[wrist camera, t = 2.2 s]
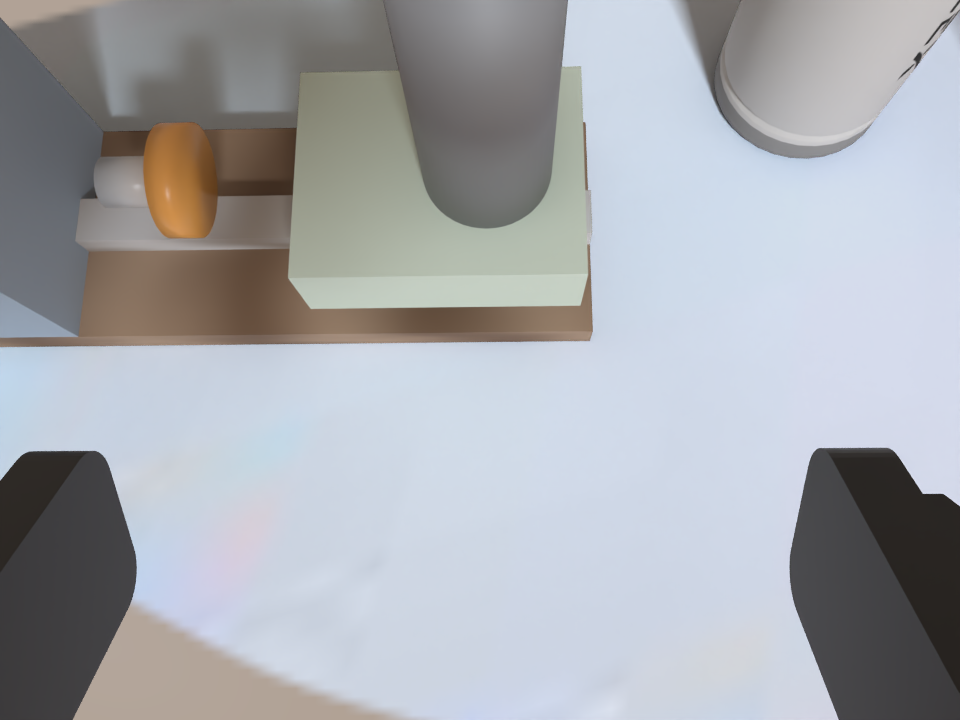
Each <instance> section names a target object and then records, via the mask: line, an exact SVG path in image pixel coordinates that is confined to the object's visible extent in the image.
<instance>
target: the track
mask: <svg viewBox="0 0 960 720" xmlns="http://www.w3.org/2000/svg"><path fill="white" fill-rule="evenodd" d="M203 131H204V133H205V134H206V136H207V138H208V141H209V143H210V146H211V149H212V153H213V157H214V161H215V167H216V174H217V185H218V201H217V212H216V217H215V222H214V225H213V227H212V230H211V232H210V233H209V234H208V235H207V236H206V237H205V238H174V239H171V238H167V237H165V236H164V235H163V234H162V233H161V232H160V231H159V229H158V228H157V226H156V224H155V223H154V221H153V218H152V216H151V213H150V210H149V207H137V208H106V207H104V206H103V205H102V204H101V203H100V201H99V199H98V197H97V195H96V197H95V199H80V207H79V215H78V223H77V230H76V238H75V241H76V242H77V243H78V244H80V245H81V246H82V247H84V248H85V249H86V250H87V251H89V254H88V262H87V270H86V279H85V287H84V295H83V303H82V311H81V319H80V328H79V336H78V337H14V338H0V347H45V346H140V345H235V344H330V343H425V342H521V341H590V338H591V335H592V332H593V326H592V297H591V268H590V241H591V236H592V214H591V190H588V182H587V154H586V125H585V122H583V137H584V167H585V196H586V225H587V255H588V277H587V281H586V285H585V289H584V293H583V297H582V302H581V306H511V307H427V308H344V309H310V307H309V306H308V305H307V303H306V302H305V301H304V299H303V298H302V296H301V295H300V294H299V292H298V291H297V290H296V288H295V287H294V286H293V284H292V283H291V281H290V280H289V279H288V269H289V252H290V235H291V218H292V202H293V185H294V168H295V151H296V135H297V128H273V129H222V130H203ZM149 133H150V131H120V132H103V140H102V148H101V156H100V157H122V156H144V151H145V145H146V141H147V138H148V135H149Z"/></svg>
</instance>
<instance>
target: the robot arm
mask: <svg viewBox="0 0 960 720" xmlns="http://www.w3.org/2000/svg"><path fill="white" fill-rule="evenodd" d="M136 571H137V566H136V555H135V551H134V547H133V544H132V540H131V537H130V534H129V530H128V527H127V524H126V521H125V517H124V514H123V511H122V507H121V504H120V501H119V498H118V494H117V491H116V488H115V484H114V481H113V478H112V475H111V471H110V468H109V465H108V463H107V461H106V459H105V458H104V457H103V455H102V454H100V453H99V452H96V451H33V452H27V453H25V454H23V455H22V456H21V457H20V458H19V459H18V460H17V461H16V462H15V463H14V465H13V466H12V467H11V468H10V469H9V471H8V472H7V473H6V474H5V476H4V477H3V478H2V479H1V481H0V720H73V718H74V716H75V713H76V712H77V710H78V708H79V706H80V703H81V702H82V699H83V698H84V696H85V694H86V691H87V690H88V688H89V686H90V684H91V682H92V679H93V678H94V676H95V674H96V672H97V670H98V668H99V666H100V663H101V661H102V660H103V658H104V656H105V654H106V652H107V650H108V648H109V646H110V644H111V641H112V640H113V638H114V636H115V634H116V632H117V630H118V628H119V626H120V624H121V622H122V620H123V618H124V616H125V614H126V612H127V610H128V608H129V605H130V603H131V600H132V597H133V593H134V589H135V583H136ZM790 583H791V590H792V595H793V600H794V604H795V607H796V610H797V613H798V615H799V618H800V620H801V623H802V626H803V628H804V631H805V633H806V636H807V639H808V641H809V644H810V646H811V649H812V651H813V654H814V657H815V659H816V662H817V664H818V667H819V670H820V672H821V675H822V677H823V680H824V682H825V685H826V688H827V690H828V693H829V695H830V698H831V701H832V703H833V706H834V708H835V711H836V713H837V716H838V719H839V720H960V506H959V505H957V504H956V503H955V502H953V501H952V500H951V499H949V498H948V497H947V496H945V495H944V494H922V492H921V491H920V489H919V487H918V486H917V484H916V483H915V481H914V480H913V478H912V477H911V475H910V474H909V472H908V471H907V469H906V468H905V466H904V465H903V463H902V462H901V460H900V459H899V457H898V456H897V454H896V453H895V452H894V451H893V450H891V449H889V448H819V449H817V450H816V451H815V452H814V453H813V455H812V456H811V459H810V462H809V466H808V470H807V475H806V480H805V485H804V490H803V495H802V499H801V504H800V509H799V514H798V519H797V523H796V528H795V533H794V538H793V543H792V548H791V554H790Z"/></svg>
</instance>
